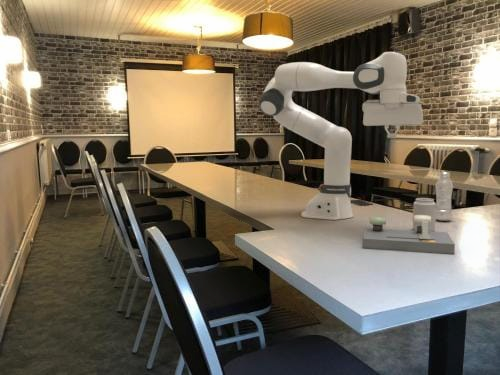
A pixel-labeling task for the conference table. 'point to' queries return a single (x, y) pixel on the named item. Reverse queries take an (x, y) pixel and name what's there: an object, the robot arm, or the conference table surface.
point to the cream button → (422, 218)
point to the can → (424, 211)
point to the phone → (360, 202)
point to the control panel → (407, 240)
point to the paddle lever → (424, 230)
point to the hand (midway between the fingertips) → (391, 138)
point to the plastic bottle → (443, 197)
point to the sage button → (377, 220)
